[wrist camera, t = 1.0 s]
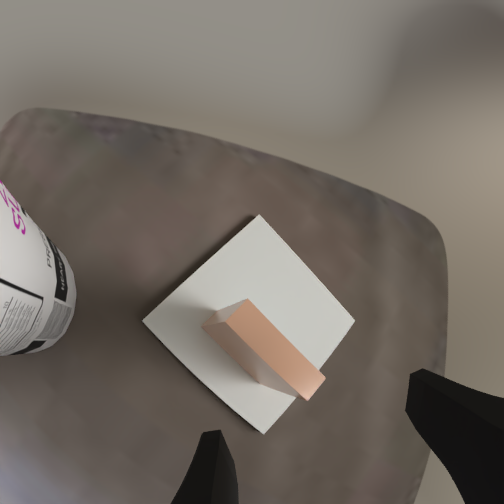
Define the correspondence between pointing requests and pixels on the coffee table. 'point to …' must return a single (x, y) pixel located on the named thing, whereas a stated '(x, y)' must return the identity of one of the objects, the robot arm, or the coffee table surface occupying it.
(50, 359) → the coffee table surface
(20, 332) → the supplement can
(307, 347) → the mat
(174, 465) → the coffee table surface
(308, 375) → the tile
